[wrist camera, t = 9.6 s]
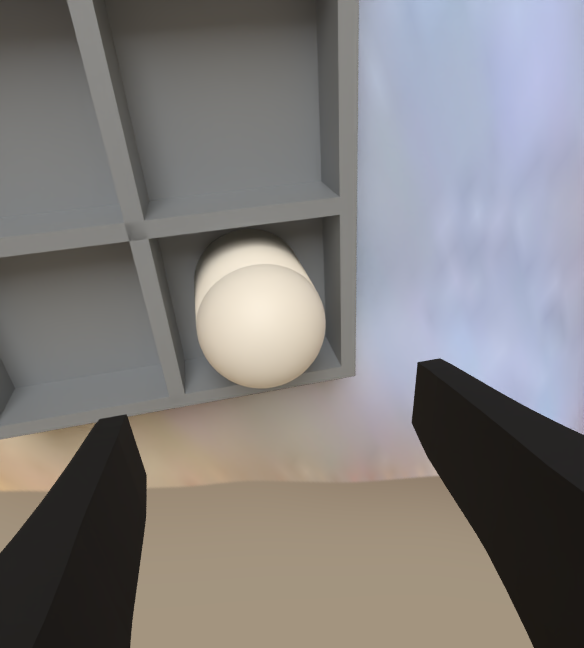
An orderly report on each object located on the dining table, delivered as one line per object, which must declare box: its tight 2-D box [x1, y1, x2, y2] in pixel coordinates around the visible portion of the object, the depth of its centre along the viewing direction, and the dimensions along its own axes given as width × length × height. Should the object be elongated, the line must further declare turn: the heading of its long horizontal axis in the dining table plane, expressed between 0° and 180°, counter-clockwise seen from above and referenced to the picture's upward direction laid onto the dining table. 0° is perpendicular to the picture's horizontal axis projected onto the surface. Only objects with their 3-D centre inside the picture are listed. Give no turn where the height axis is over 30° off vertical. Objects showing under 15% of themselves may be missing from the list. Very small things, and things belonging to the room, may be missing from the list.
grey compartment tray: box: [0, 0, 359, 439], centre depth 14 cm, size 15×22×3 cm
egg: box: [194, 229, 326, 388], centre depth 16 cm, size 4×4×6 cm
